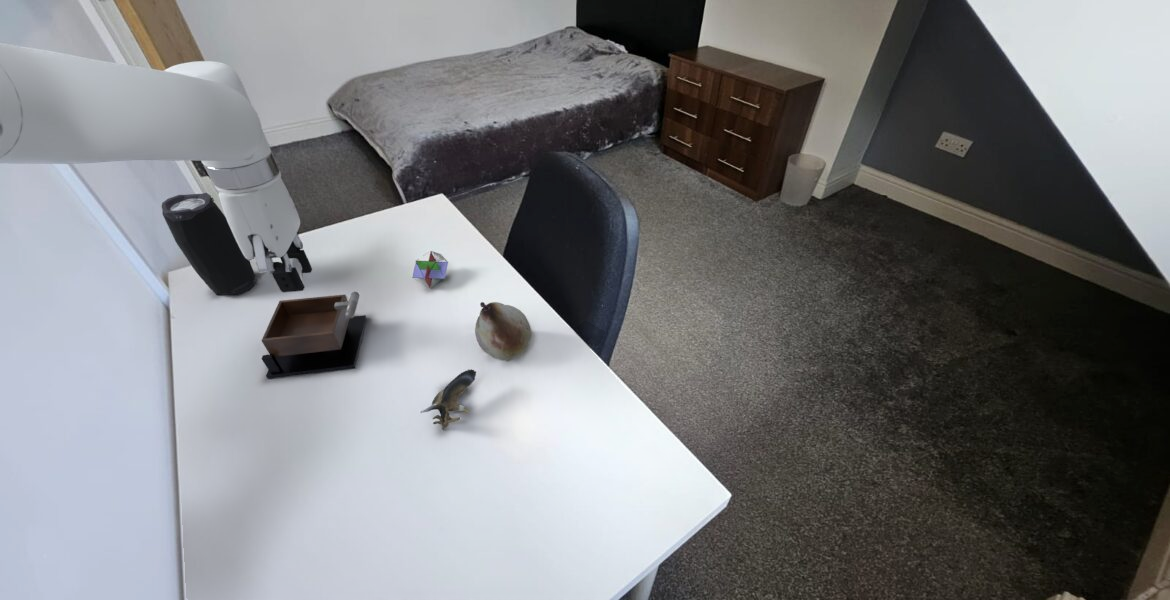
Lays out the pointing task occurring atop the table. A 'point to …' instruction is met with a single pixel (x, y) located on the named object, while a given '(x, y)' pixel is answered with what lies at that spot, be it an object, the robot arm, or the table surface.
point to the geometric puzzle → (431, 268)
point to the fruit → (502, 331)
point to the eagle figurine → (451, 398)
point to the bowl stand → (320, 356)
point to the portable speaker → (208, 243)
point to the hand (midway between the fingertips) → (297, 280)
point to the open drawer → (309, 324)
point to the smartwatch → (297, 266)
